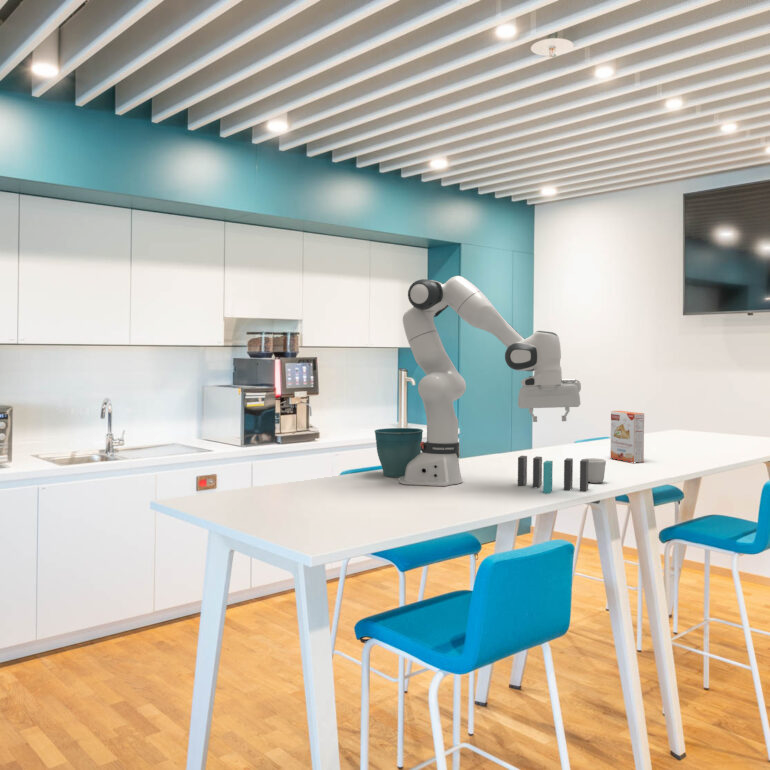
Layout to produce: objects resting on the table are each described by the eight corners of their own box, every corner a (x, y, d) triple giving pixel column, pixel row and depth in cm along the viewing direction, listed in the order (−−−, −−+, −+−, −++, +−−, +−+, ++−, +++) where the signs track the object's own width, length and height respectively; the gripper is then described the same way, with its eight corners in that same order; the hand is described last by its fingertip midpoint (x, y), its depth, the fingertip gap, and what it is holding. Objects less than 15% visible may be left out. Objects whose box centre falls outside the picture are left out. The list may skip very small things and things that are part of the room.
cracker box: (609, 459, 319) (610, 410, 318) (620, 458, 322) (621, 410, 321) (633, 463, 306) (633, 413, 305) (644, 462, 309) (644, 412, 308)
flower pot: (365, 477, 273) (365, 431, 272) (388, 470, 289) (388, 426, 288) (409, 481, 264) (410, 433, 264) (430, 473, 280) (430, 429, 280)
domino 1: (526, 484, 258) (527, 455, 257) (523, 486, 253) (523, 457, 253) (521, 484, 259) (521, 455, 258) (517, 486, 254) (518, 457, 253)
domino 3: (572, 487, 252) (572, 458, 251) (569, 490, 247) (570, 460, 247) (566, 487, 252) (566, 458, 252) (563, 489, 248) (564, 460, 247)
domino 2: (541, 485, 256) (542, 456, 255) (538, 487, 251) (539, 458, 251) (535, 485, 256) (536, 456, 256) (532, 487, 252) (533, 458, 251)
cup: (572, 479, 267) (573, 457, 267) (591, 478, 270) (591, 456, 270) (591, 484, 257) (591, 461, 257) (610, 483, 260) (610, 460, 260)
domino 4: (588, 488, 250) (588, 459, 249) (585, 491, 245) (586, 461, 244) (582, 488, 250) (582, 459, 250) (579, 491, 246) (580, 461, 245)
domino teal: (552, 490, 246) (552, 460, 245) (549, 493, 241) (549, 463, 241) (546, 490, 247) (546, 460, 246) (543, 493, 242) (543, 462, 242)
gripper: (580, 378, 246) (581, 420, 246) (517, 380, 250) (518, 421, 250) (581, 378, 240) (582, 421, 240) (516, 381, 244) (518, 422, 244)
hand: (549, 421), depth 245 cm, fingers open, 8 cm apart
